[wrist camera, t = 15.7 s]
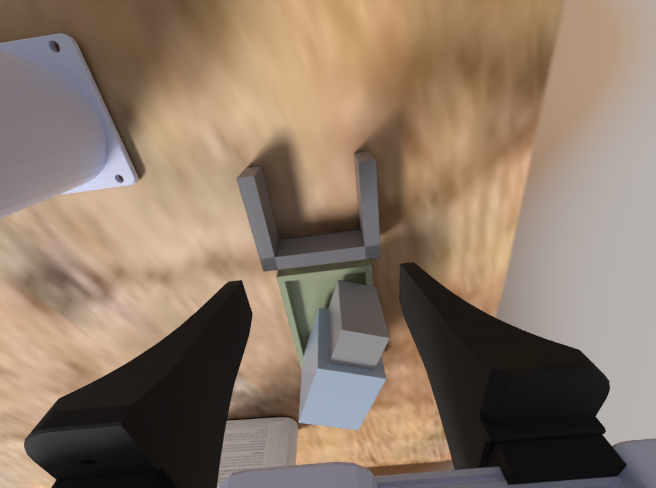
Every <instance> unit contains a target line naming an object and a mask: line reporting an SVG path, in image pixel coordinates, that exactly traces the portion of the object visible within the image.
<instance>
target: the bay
mask: <svg viewBox="0 0 656 488" xmlns="http://www.w3.org/2000/svg"><path fill="white" fill-rule="evenodd" d="M354 160H355V173H356V185H357V197H358V209H359V221H360V230H354V231H346V232H338V233H330V234H321V235H313V236H305V237H297V238H289V239H281V240H280V239H279V235H278V231H277V227H276V223H275V219H274V214H273V210H272V206H271V202H270V198H269V194H268V189H267V185H266V181H265V177H264V173H263V169H262V166H255V167H247V168H246V169H245V170H244V171H243V172H242V173H241V174H240V175H239V176H238V177H237V181H238V185H239V188H240V192H241V195H242V199H243V202H244V206H245V209H246V213H247V216H248V220H249V223H250V226H251V230H252V233H253V237H254V240H255V244H256V247H257V251H258V254H259V258H260V261H261V265H262V268H263V271H271V270H280V269H288V268H297V267H305V266H313V265H322V264H330V263H339V262H347V261H355V260H364V259H372V258H381V256H380V234H379V212H378V191H377V169H376V159H375V157H374V156H373V155H372V153H371V152H370V151H365V152H357V153H354Z"/></svg>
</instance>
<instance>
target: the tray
mask: <svg viewBox="0 0 656 488" xmlns="http://www.w3.org/2000/svg"><path fill="white" fill-rule="evenodd" d="M277 280H278V284H279V288H280V291H281V295H282V299H283V303H284V307H285V310H286V314H287V318H288V322H289V325H290V329H291V333H292V337H293V341H294V344H295V348H296V352H297V356H298V360H299V363H300V367H301V371H302V363H303V356H304V353H305V350H306V347H307V344H308V340H309V337H310V334H311V331H312V328H313V324H314V321H315V318H316V315H317V311H318V308H322V309H327V310H328V308H329V305H330V302H331V299H332V296H333V293H334V290H335V287H336V284H337V281H338V280H343V281H348V282H353V283H358V284H363V285H368V286H373V276H372V265H371V261H370V259H364V260H355V261H347V262H339V263H330V264H322V265H313V266H305V267H297V268H288V269H280V270H278V273H277Z"/></svg>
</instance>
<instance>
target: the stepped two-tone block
mask: <svg viewBox="0 0 656 488" xmlns="http://www.w3.org/2000/svg"><path fill="white" fill-rule="evenodd" d="M389 339H390V337H389V333H388V329H387V325H386V322H385V318H384V314H383V311H382V307H381V303H380V300H379V296H378V292H377V289H376V287H373V286H368V285H363V284H358V283H353V282H348V281H343V280H338V281H337V284H336V287H335V290H334V293H333V296H332V299H331V302H330V305H329V308H328V310H327V309H322V308H318V311H317V315H316V318H315V321H314V324H313V328H312V331H311V334H310V337H309V340H308V344H307V347H306V350H305V353H304V356H303V363H302V378H301V392H300V406H299V421H298V423H305V424H313V425H321V426H329V427H337V428H345V429H353V430H359V428H360V426H361V424H362V423H363V421H364V419H365V417H366V415H367V413H368V411H369V410H370V408H371V406H372V404H373V402H374V400H375V399H376V397H377V395H378V393H379V391H380V389H381V388H382V386H383V384H384V382H385V380H386V375H385V371H384V366H383V362H382V357H381V355H382V353H383V351H384V349H385V347H386V345H387V343H388V341H389Z"/></svg>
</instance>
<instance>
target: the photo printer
mask: <svg viewBox="0 0 656 488" xmlns="http://www.w3.org/2000/svg"><path fill="white" fill-rule="evenodd" d="M297 438H298V424H297V422H296V421H295V420H294V419H292V418H285V417H277V418H261V419H247V420H231V421H227V423H226V428H225V434H224V440H223V447H222V454H221V460H220V467H219V475H218V483H217V488H219V485H220V483H221V482H223V481H224V480H225V479H226V478H228V477H229V476H230V475H231V474H233V473H235V472H239V471H243V470H248V469H256V468H268V467H280V466H292V465H295V464H296V451H297Z"/></svg>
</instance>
